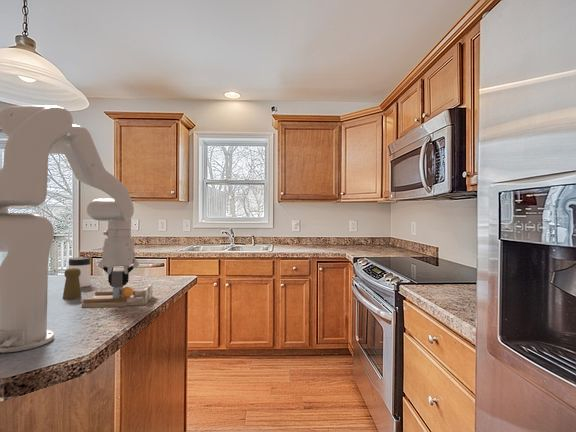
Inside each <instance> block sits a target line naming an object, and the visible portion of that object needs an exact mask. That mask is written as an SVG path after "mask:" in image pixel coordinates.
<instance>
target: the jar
mask: <svg viewBox="0 0 576 432" xmlns="http://www.w3.org/2000/svg"><path fill="white" fill-rule="evenodd" d="M67 267H68V268H67V269H69V268H78V269H80V271H81V274H80V276H79V282H80V288H86V287H89V286H91V281H92V279H91V278H92V277H91V274H92V271H91V270H92V264H91V257H86V256H83V257H82V256H81V257H80V256H79V257H71V258H69V259H68V265H67Z"/></svg>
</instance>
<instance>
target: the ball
mask: <svg viewBox="0 0 576 432" xmlns="http://www.w3.org/2000/svg"><path fill="white" fill-rule="evenodd" d="M133 291H134V289H133V288H132V287H130V286H124V287H123V289H122V291H121V295H122V296H123V297H124V298H129V297H131V296H132V295H133Z"/></svg>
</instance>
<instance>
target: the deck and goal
mask: <svg viewBox="0 0 576 432" xmlns="http://www.w3.org/2000/svg"><path fill="white" fill-rule="evenodd" d="M152 298H153V283H149V284H148V285H146V286H145V287H144V289H142V290H133V295H132V296H131V297H129V298H124V297H123V296H121V297H120V298H113V290H112V291H110V290H108V291H107V290H105V291H95V292H94V296H91V297H90V298H84V299H83V298H82V299H83V300H82V303H81V308H103V307H106V308H108V307H110V308H111V307H127V306H146V305H147V304H148V302H149V301H150V300H151V299H152Z"/></svg>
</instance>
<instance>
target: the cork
mask: <svg viewBox="0 0 576 432" xmlns="http://www.w3.org/2000/svg"><path fill="white" fill-rule="evenodd" d="M63 274H64V277H65V281H64V288H63V293H62V299H63V300H76V299H80V298H82V293H81V292H82V291H81V287H80V282H79V276H80V274H81V271H80V269H78V268H69V269H68V268H67V269H65V270H64V272H63Z"/></svg>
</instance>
